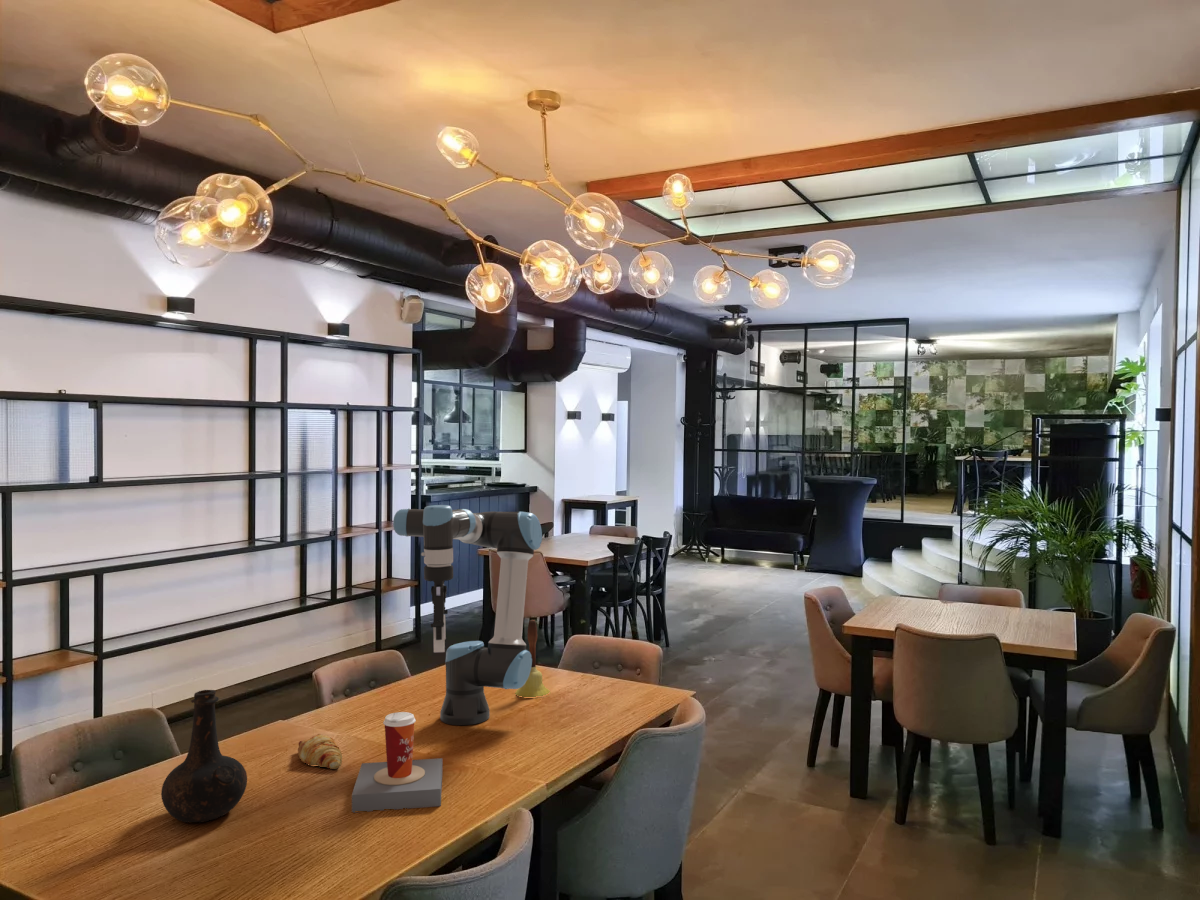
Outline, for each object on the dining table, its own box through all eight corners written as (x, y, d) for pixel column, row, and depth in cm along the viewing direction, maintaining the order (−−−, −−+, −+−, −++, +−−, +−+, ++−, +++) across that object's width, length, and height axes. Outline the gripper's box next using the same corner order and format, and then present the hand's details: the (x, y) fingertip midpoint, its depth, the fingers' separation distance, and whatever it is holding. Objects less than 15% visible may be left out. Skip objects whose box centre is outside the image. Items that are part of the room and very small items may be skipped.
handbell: (514, 689, 292) (514, 617, 292) (549, 687, 293) (549, 616, 293) (514, 699, 279) (514, 624, 279) (551, 698, 281) (551, 623, 281)
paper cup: (407, 781, 198) (407, 722, 198) (377, 778, 200) (377, 720, 200) (421, 768, 206) (421, 712, 206) (392, 766, 208) (392, 710, 208)
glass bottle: (191, 839, 178) (190, 708, 179) (144, 820, 188) (144, 695, 188) (263, 809, 194) (263, 688, 194) (217, 792, 203) (216, 677, 203)
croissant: (348, 781, 218) (361, 751, 221) (317, 773, 212) (330, 741, 215) (309, 759, 233) (322, 731, 236) (278, 751, 227) (292, 722, 229)
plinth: (361, 779, 211) (361, 761, 211) (442, 773, 214) (442, 756, 214) (351, 812, 191) (351, 793, 191) (440, 806, 195) (440, 787, 195)
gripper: (426, 558, 230) (427, 634, 231) (421, 572, 206) (423, 658, 206) (453, 557, 231) (454, 633, 232) (452, 571, 207) (454, 656, 207)
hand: (439, 645), depth 219 cm, fingers open, 13 cm apart
